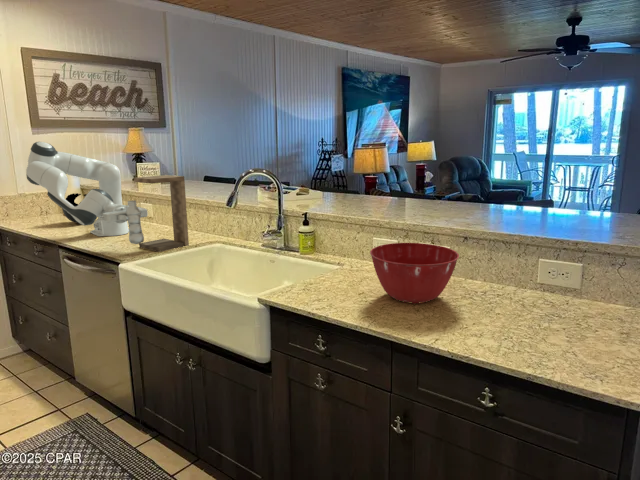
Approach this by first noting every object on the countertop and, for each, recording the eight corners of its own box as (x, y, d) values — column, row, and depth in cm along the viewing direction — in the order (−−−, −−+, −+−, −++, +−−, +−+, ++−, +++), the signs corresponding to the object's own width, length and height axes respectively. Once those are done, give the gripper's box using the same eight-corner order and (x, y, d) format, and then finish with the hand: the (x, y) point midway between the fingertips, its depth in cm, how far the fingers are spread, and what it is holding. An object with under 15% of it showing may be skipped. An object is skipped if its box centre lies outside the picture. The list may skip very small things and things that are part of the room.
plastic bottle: (147, 242, 229) (142, 199, 226) (138, 245, 222) (133, 201, 219) (135, 242, 231) (130, 200, 227) (126, 245, 224) (120, 201, 221)
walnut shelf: (137, 247, 237) (131, 177, 230) (169, 241, 251) (164, 174, 244) (157, 252, 227) (151, 179, 220) (188, 245, 241) (184, 176, 234)
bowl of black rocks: (62, 222, 308) (58, 192, 304) (96, 219, 318) (93, 190, 314) (66, 227, 291) (62, 196, 287) (102, 223, 302) (99, 193, 298)
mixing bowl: (469, 310, 150) (472, 261, 146) (378, 313, 148) (379, 264, 144) (440, 283, 177) (442, 241, 174) (363, 285, 175) (363, 243, 172)
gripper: (96, 210, 223) (113, 212, 215) (137, 204, 239) (153, 207, 231) (98, 223, 225) (114, 226, 217) (138, 217, 241) (154, 220, 232)
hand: (134, 216), depth 224 cm, fingers closed on plastic bottle, 6 cm apart
